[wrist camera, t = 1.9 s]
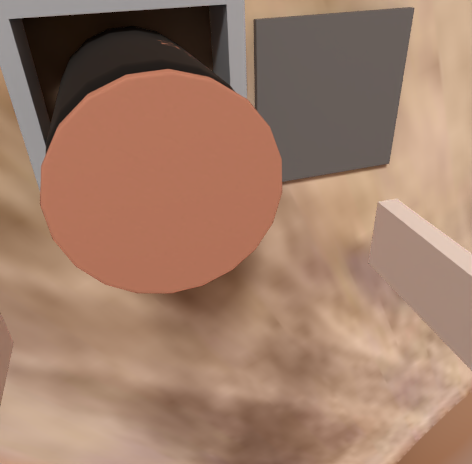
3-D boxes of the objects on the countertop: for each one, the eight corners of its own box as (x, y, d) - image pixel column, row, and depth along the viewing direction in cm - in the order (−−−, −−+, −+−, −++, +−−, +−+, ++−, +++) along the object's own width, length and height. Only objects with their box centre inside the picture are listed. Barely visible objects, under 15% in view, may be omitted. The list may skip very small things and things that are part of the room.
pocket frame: (56, 202, 36) (53, 232, 32) (-6, -7, 28) (-22, -4, 23) (232, 174, 39) (249, 197, 35) (223, -20, 31) (244, -19, 27)
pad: (256, 183, 40) (258, 185, 40) (253, 19, 33) (256, 20, 32) (385, 161, 43) (389, 163, 43) (409, 7, 36) (414, 7, 36)
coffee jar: (214, 140, 37) (299, 250, 22) (95, 180, 36) (101, 325, 21) (178, 6, 31) (261, 35, 16) (33, 48, 30) (-19, 122, 15)
